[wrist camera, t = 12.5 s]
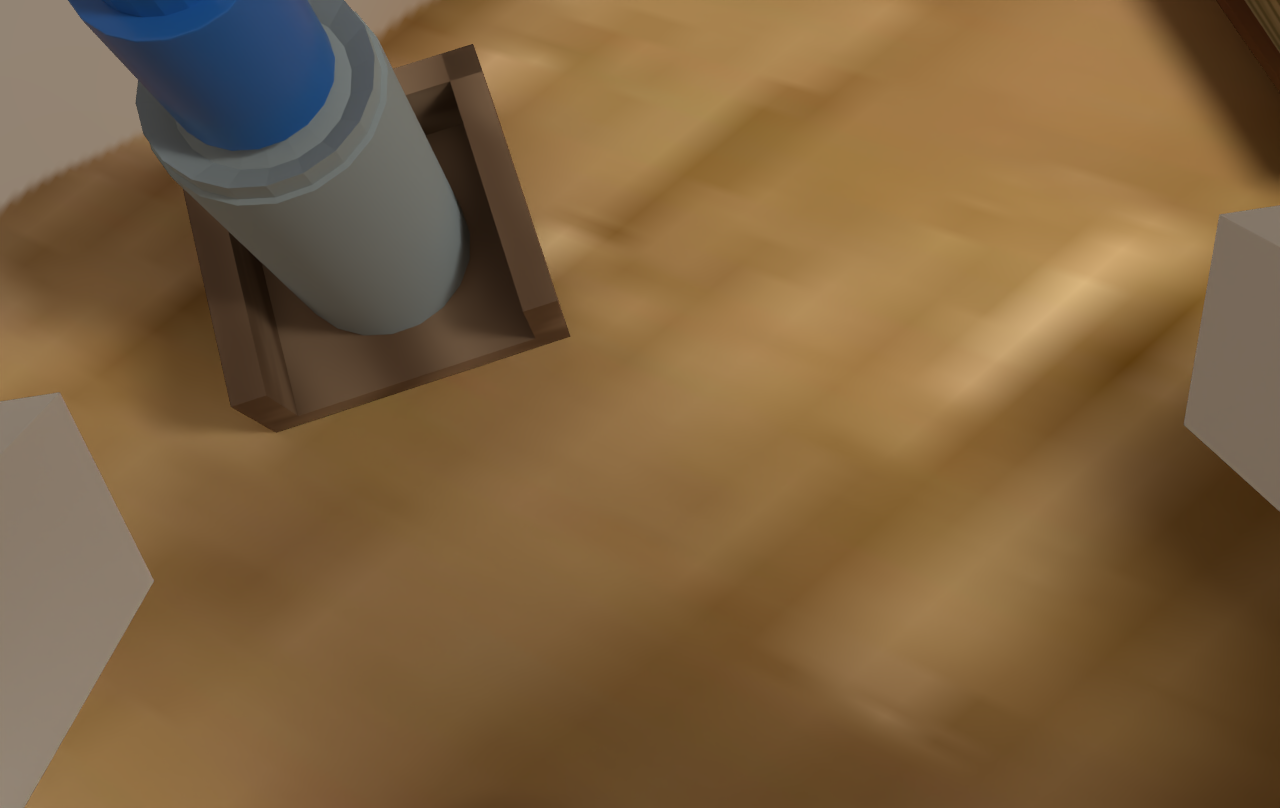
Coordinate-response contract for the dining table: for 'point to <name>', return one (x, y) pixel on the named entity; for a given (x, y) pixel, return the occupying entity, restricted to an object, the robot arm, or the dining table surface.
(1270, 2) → the diary
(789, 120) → the dining table surface
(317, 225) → the blue and grey bottle
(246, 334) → the rest
